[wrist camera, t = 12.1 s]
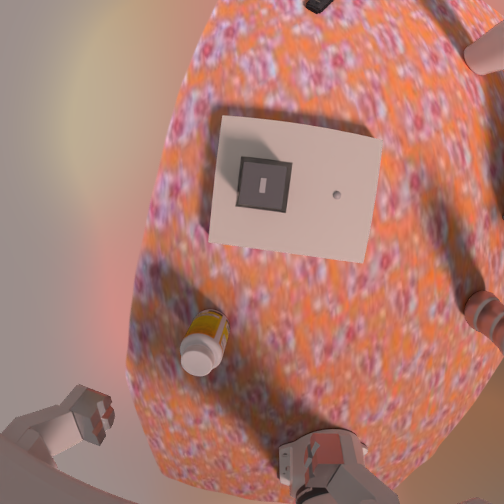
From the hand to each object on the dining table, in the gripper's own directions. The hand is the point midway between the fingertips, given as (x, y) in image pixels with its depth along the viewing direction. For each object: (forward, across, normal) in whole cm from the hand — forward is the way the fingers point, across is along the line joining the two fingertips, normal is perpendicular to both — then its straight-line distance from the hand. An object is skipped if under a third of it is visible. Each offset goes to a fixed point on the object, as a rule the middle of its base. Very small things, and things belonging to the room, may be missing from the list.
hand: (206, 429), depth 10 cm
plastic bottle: (+31, +38, -5) cm, 49 cm away
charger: (+31, 0, +8) cm, 32 cm away
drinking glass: (+31, +31, +35) cm, 56 cm away
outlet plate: (+31, +4, +8) cm, 32 cm away
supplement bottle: (+31, -5, -13) cm, 34 cm away
